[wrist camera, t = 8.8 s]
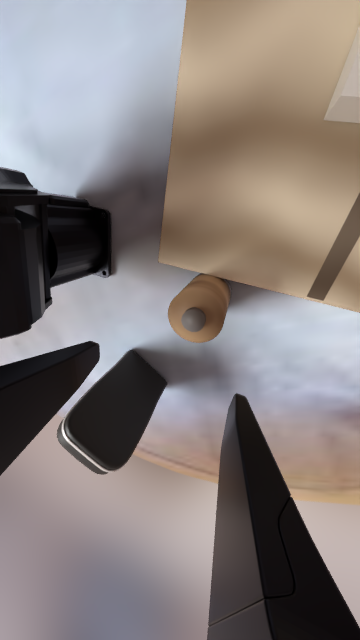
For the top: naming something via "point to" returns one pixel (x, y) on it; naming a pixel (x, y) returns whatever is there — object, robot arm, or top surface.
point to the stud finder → (347, 89)
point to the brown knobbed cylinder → (200, 308)
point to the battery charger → (112, 415)
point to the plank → (265, 150)
